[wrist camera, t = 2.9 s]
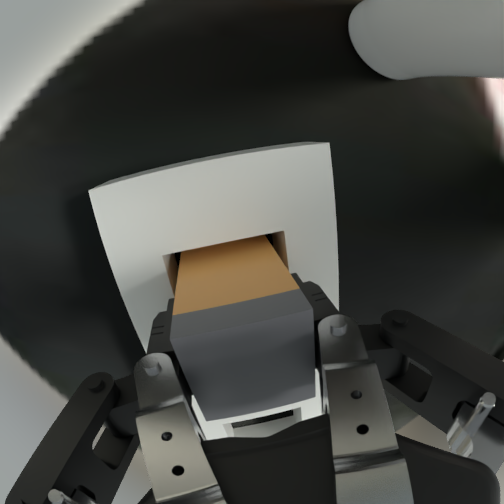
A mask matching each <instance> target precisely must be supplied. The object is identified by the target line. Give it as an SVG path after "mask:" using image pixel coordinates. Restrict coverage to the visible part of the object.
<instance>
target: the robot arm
mask: <svg viewBox="0 0 504 504" xmlns="http://www.w3.org/2000/svg"><path fill="white" fill-rule="evenodd" d="M291 275H292V277H293V279H294V280H295V282H296V283H297V285H298V286H299V288H300V289H301V291H302V292H303V294H304V295H305V297H306V299H307V300H308V302H309V303H310V305H311V306H312V308H313V319H314V344H315V369H317V370H318V372H319V387H320V400H321V413H322V415H320V416H317V417H313V418H310V419H306V420H303V421H300V422H298V423H296V424H294V425H292V426H290V427H288V428H286V429H284V430H281V431H279V432H277V433H275V434H273V435H271V436H268V437H226V438H219V439H212V440H207V439H206V436H205V434H204V432H203V430H202V427H201V425H200V422H199V420H198V418H197V415H196V413H195V410H194V408H193V406H192V395H193V393H192V391H191V388H190V386H189V384H188V382H187V379H186V377H185V375H184V373H183V370H182V368H181V366H180V363H179V361H178V358H177V356H176V354H175V351H174V349H173V346H172V344H171V341H170V332H171V323H172V315H173V307H174V299H175V298H171V299H169V300H168V305H167V311H163V312H159V313H158V314H157V316H156V317H155V318H154V320H153V323H152V329H151V333H150V335H151V336H150V338H149V343H148V348H147V353H146V356H144V357H143V358H141V359H140V360H139V361H138V362H137V363H136V364H135V366H134V373H133V374H131V375H129V376H126V377H124V378H121V379H118V380H115V381H114V379H113V377H112V376H111V375H110V374H108V373H105V372H99V373H95V374H92V375H90V376H89V377H87V378H86V379H85V380H84V381H83V382H82V384H81V385H80V386H79V388H78V389H77V390H76V392H75V393H74V395H73V396H72V397H71V399H70V400H69V402H68V403H67V404H66V406H65V407H64V409H63V410H62V412H61V413H60V415H59V416H58V417H57V419H56V420H55V422H54V423H53V425H52V426H51V428H50V429H49V431H48V432H47V434H46V435H45V437H44V438H43V440H42V441H41V443H40V444H39V446H38V447H37V449H36V451H35V452H34V454H33V455H32V457H31V458H30V460H29V461H28V463H27V465H26V466H25V468H24V469H23V471H22V472H21V474H20V476H19V477H18V479H17V481H16V482H15V484H14V486H13V487H12V489H11V491H10V493H9V494H8V496H7V498H6V501H5V504H111V503H112V501H113V499H114V497H115V495H116V492H117V490H118V488H119V486H120V484H121V482H122V480H123V477H124V475H125V473H126V471H127V469H128V467H129V465H130V463H131V460H132V458H133V456H134V454H135V452H136V450H137V448H138V446H139V444H140V442H141V447H142V451H143V456H144V459H145V464H146V468H147V472H148V475H149V479H150V482H151V486H152V488H151V489H150V490H149V491H148V492H147V494H146V495H145V496H144V497H143V498H142V499H141V501H140V502H139V503H138V504H500V486H499V482H498V479H497V477H496V475H495V474H496V473H497V471H498V470H499V468H500V466H501V465H502V463H503V462H504V362H503V361H501V360H499V359H497V358H495V357H493V356H492V355H490V354H488V353H486V352H484V351H482V350H480V349H479V348H477V347H475V346H473V345H471V344H469V343H467V342H466V341H464V340H462V339H460V338H458V337H456V336H454V335H452V334H450V333H449V332H447V331H445V330H443V329H441V328H439V327H437V326H435V325H433V324H431V323H430V322H428V321H426V320H424V319H422V318H420V317H418V316H416V315H414V314H412V313H410V312H408V311H404V310H392V311H389V312H387V313H385V314H384V315H383V316H382V318H381V322H380V324H373V325H358V323H357V322H356V320H355V319H353V318H352V317H350V316H346V315H341V314H340V312H339V311H338V310H337V308H336V307H335V306H334V304H333V303H332V302H331V300H330V299H329V298H328V297H327V295H326V294H325V293H324V291H323V290H322V289H321V287H320V286H319V285H317V284H315V283H313V282H311V281H307V282H302V280H301V279H300V277H299V276H298V275H297V273H292V274H291ZM410 358H411V359H413V360H414V361H416V362H418V363H419V364H421V365H422V366H424V367H426V368H427V369H428V370H429V371H430V372H431V374H432V376H430V375H429V374H427V373H426V372H424V371H422V370H421V369H419V368H418V367H416V366H415V365H413V364H411V363H410ZM384 389H385V390H386V391H387V392H389V393H390V394H392V395H393V396H394V397H396V398H397V399H398V400H400V401H401V402H402V403H404V404H405V405H407V406H408V407H409V408H411V409H412V410H414V411H415V412H416V413H418V414H419V415H421V416H422V417H423V418H425V419H426V420H428V421H429V422H430V423H432V424H433V425H435V426H436V427H437V428H439V429H440V430H442V431H443V432H445V433H446V434H447V441H448V443H449V445H450V446H449V449H450V451H451V452H452V453H451V452H447V451H444V450H441V449H438V448H435V447H432V446H429V445H426V444H423V443H420V442H418V441H415V440H412V439H409V438H407V437H404V436H401V435H399V434H396V433H395V431H394V427H393V423H392V419H391V415H390V411H389V407H388V404H387V400H386V396H385V393H384ZM103 424H104V425H105V427H106V428H105V430H104V432H103V433H102V435H101V437H100V439H99V441H98V442H97V444H96V446H95V448H94V449H92V444H93V441H94V439H95V437H96V435H97V434H98V432H99V430H100V428H101V427H102V425H103Z"/></svg>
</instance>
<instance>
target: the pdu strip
mask: <svg viewBox="0 0 504 504" xmlns="http://www.w3.org/2000/svg"><path fill="white" fill-rule="evenodd" d="M88 192H89V196H90V199H91V203H92V207H93V211H94V214H95V218H96V222H97V225H98V228H99V232H100V235H101V238H102V241H103V245H104V248H105V251H106V254H107V257H108V260H109V263H110V266H111V269H112V271H113V274H114V277H115V280H116V283H117V285H118V288H119V291H120V293H121V296H122V298H123V301H124V303H125V306H126V308H127V311H128V313H129V316H130V318H131V320H132V323H133V325H134V327H135V330H136V332H137V334H138V337H139V339H140V341H141V343H142V345H143V347H144V350H145V352H146V353H147V348H148V343H149V338H150V336H151V335H150V333H151V329H152V323H153V320H154V318H155V317H156V316H157V314H158V313H159V312H163V311H167V305H168V300H169V299H171V298H175V291H176V284H177V277H178V270H179V268H178V265H177V261H176V257H175V254H174V253H176V252H181V251H185V250H190V249H195V248H200V247H205V246H209V245H214V244H219V243H224V242H229V241H234V240H239V239H244V238H249V237H254V236H259V235H264V234H269V233H272V239H273V246H274V250H275V251H276V253H277V254H278V256H279V257H280V259H281V260H282V262H283V263H284V265H285V266H286V268H287V269H288V271H289V272H290V274H292V273H297V275H298V276H299V277H300V279H301V280H302V282H307V281H311V282H313V283H315V284H317V285H319V286H320V287H321V289H322V290H323V291H324V293H325V294H326V295H327V297H328V298H329V299H330V300H331V302H332V303H333V304H334V306H335V307H336V308H337V310H338V311H339V275H338V244H337V224H336V208H335V195H334V183H333V172H332V162H331V153H330V144H329V143H324V142H298V143H290V144H282V145H274V146H267V147H260V148H254V149H247V150H241V151H235V152H230V153H224V154H219V155H213V156H208V157H203V158H198V159H193V160H189V161H184V162H179V163H175V164H171V165H166V166H162V167H158V168H154V169H150V170H146V171H142V172H138V173H134V174H131V175H127V176H123V177H120V178H116V179H113V180H109V181H107V182H105V183H103V184H101V185H99V186H97V187H95V188H93V189H91V190H88ZM315 386H316V397H314V398H311V399H307V400H304V401H300V402H297V403H293V404H289V405H285V406H281V407H277V408H273V409H269V410H265V411H260V412H256V413H251V414H246V415H241V416H236V417H230V418H225V419H219V420H213V421H206V420H205V418H204V416H203V414H202V412H201V410H200V408H199V406H198V403H197V401H196V399H195V397H194V395H192V406H193V408H194V410H195V413H196V415H197V418H198V420H199V422H200V425H201V427H202V430H203V432H204V434H205V436H206V439H207V440H212V439H219V438H226V437H268V436H271V435H273V434H275V433H277V432H279V431H281V430H284V429H286V428H288V427H290V426H292V425H294V424H296V423H298V422H300V421H303V420H306V419H310V418H313V417H317V416H320V415H322V413H321V400H320V387H319V372H318V370H317V369H315ZM292 409H293V415H292V416H289V417H285V418H281V419H277V420H272V421H268V422H264V423H259V424H254V425H249V426H244V427H239V428H232V425H231V423H233V422H238V421H243V420H248V419H253V418H258V417H263V416H267V415H271V414H276V413H280V412H284V411H288V410H292Z"/></svg>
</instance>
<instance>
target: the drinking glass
mask: <svg viewBox="0 0 504 504" xmlns="http://www.w3.org/2000/svg"><path fill="white" fill-rule="evenodd" d="M348 30H349V35H350V39H351V42H352V44H353V46H354V48H355V50H356V51H357V53H358V54H359V56H360V57H361V58H362V60H363V61H364V62H365V63H366V64H367V65H368V66H369V67H371V68H372V69H373V70H375V71H376V72H377V73H379V74H381V75H383V76H385V77H388V78H391V79H396V80H407V79H413V78H419V77H435V76H462V77H484V78H496V79H504V0H363V1H361V2H360V3H359V4H358V5H356V6H355V8H354V9H353V10H352V12H351V14H350V17H349V21H348Z"/></svg>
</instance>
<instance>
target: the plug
mask: <svg viewBox="0 0 504 504" xmlns="http://www.w3.org/2000/svg"><path fill="white" fill-rule="evenodd" d="M170 341H171V344H172V346H173V349H174V351H175V354H176V356H177V358H178V361H179V363H180V366H181V368H182V370H183V373H184V375H185V377H186V379H187V382H188V384H189V386H190V388H191V391H192V393H193V395H194V397H195V399H196V401H197V403H198V406H199V408H200V410H201V412H202V414H203V416H204V418H205V420H206V421H213V420H219V419H225V418H230V417H236V416H241V415H246V414H251V413H256V412H260V411H265V410H269V409H273V408H277V407H281V406H285V405H289V404H293V403H297V402H300V401H304V400H307V399H311V398H314V397H316V386H315V344H314V319H313V308H312V306H311V305H310V303H309V302H308V300H307V299H306V297H305V295H304V294H303V292H302V291H301V289H300V288H299V286H298V285H297V283H296V282H295V280H294V279H293V277H292V275H291V274H290V272H289V271H288V269H287V268H286V266H285V265H284V263H283V262H282V260H281V259H280V257H279V256H278V254H277V253H276V251H275V250H274V248H273V247H272V245H271V244H270V242H269V241H268V239H267V238H266V236H265V235H259V236H254V237H249V238H244V239H239V240H234V241H229V242H224V243H219V244H214V245H209V246H205V247H200V248H195V249H190V250H185V251H181V257H180V264H179V270H178V277H177V284H176V291H175V299H174V307H173V315H172V323H171V332H170Z"/></svg>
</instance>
